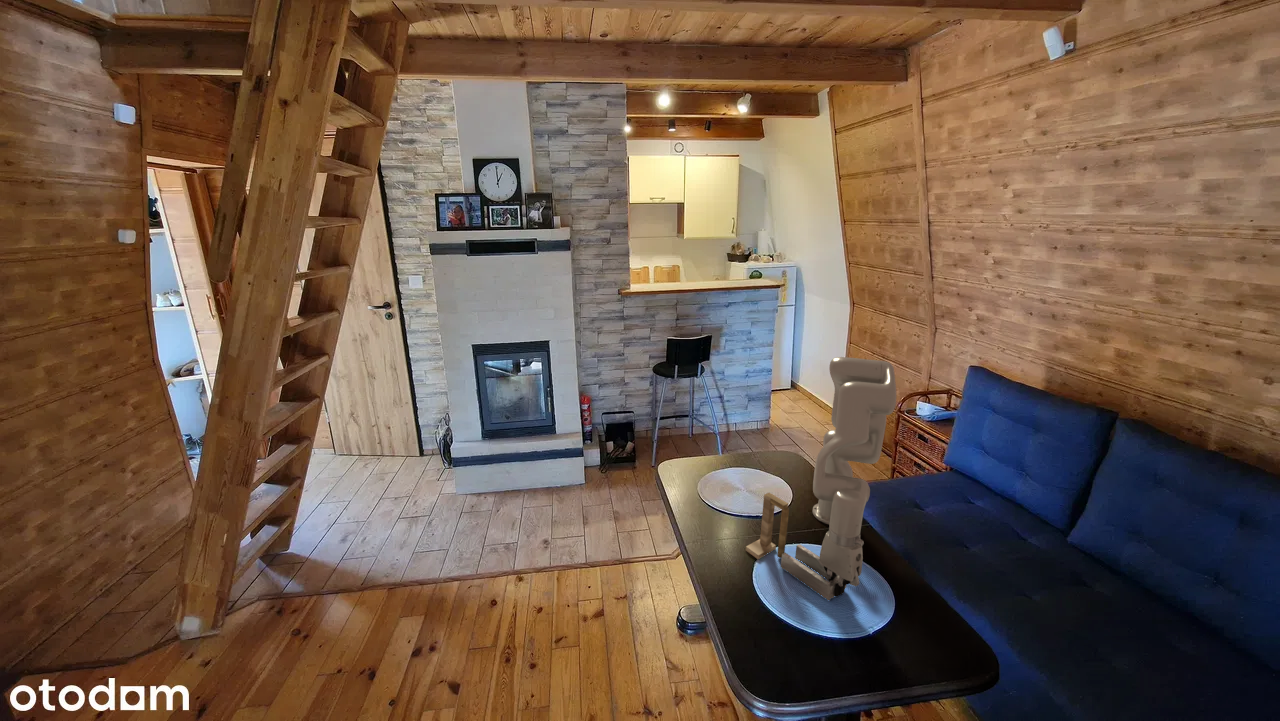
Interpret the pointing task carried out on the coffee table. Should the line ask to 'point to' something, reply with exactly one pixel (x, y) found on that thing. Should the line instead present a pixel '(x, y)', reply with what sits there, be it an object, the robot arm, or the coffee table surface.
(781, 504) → the pin stand
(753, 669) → the coffee table surface
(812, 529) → the coffee table surface
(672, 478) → the coffee table surface
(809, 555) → the steel C-link
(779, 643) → the coffee table surface
